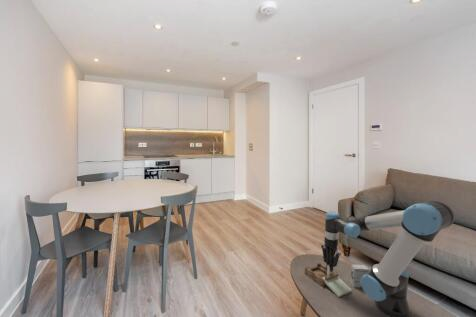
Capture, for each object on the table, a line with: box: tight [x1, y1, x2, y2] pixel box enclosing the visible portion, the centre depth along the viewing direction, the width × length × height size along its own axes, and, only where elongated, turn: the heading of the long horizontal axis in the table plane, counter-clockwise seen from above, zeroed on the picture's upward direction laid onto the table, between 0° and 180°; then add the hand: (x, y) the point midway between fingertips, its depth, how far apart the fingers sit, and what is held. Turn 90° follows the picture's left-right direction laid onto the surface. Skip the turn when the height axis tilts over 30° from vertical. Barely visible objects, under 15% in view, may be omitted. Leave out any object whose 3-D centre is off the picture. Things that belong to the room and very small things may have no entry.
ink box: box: [349, 264, 370, 289], centre depth 133 cm, size 9×5×12 cm, turn 84°
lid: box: [322, 272, 353, 298], centre depth 130 cm, size 13×11×4 cm
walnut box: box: [304, 262, 336, 288], centre depth 140 cm, size 15×13×4 cm
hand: (329, 275), depth 135 cm, fingers closed
